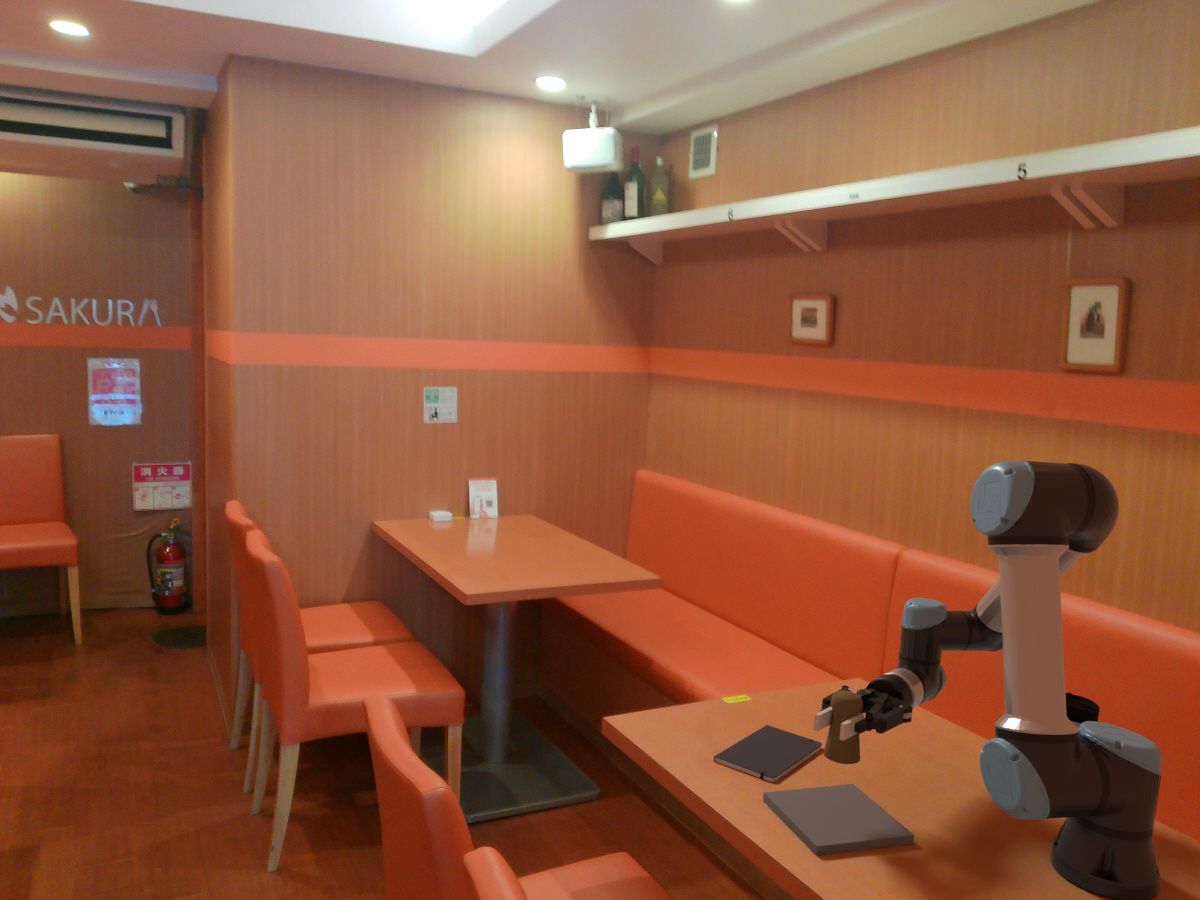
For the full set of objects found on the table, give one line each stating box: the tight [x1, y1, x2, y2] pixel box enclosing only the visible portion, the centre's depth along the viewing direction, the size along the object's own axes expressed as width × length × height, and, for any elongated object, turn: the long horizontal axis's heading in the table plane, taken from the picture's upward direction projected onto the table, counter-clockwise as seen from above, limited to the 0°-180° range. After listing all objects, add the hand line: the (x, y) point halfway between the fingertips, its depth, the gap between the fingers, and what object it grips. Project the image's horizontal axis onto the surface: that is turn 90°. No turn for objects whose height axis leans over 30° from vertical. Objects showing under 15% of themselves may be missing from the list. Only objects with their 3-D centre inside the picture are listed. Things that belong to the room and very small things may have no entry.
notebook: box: [713, 724, 823, 783], centre depth 185 cm, size 13×2×21 cm
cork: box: [823, 690, 863, 765], centre depth 159 cm, size 6×6×11 cm
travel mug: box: [1065, 692, 1101, 729], centre depth 171 cm, size 6×7×20 cm
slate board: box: [762, 783, 915, 856], centre depth 160 cm, size 18×18×2 cm
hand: (829, 727), depth 155 cm, fingers closed on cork, 4 cm apart
